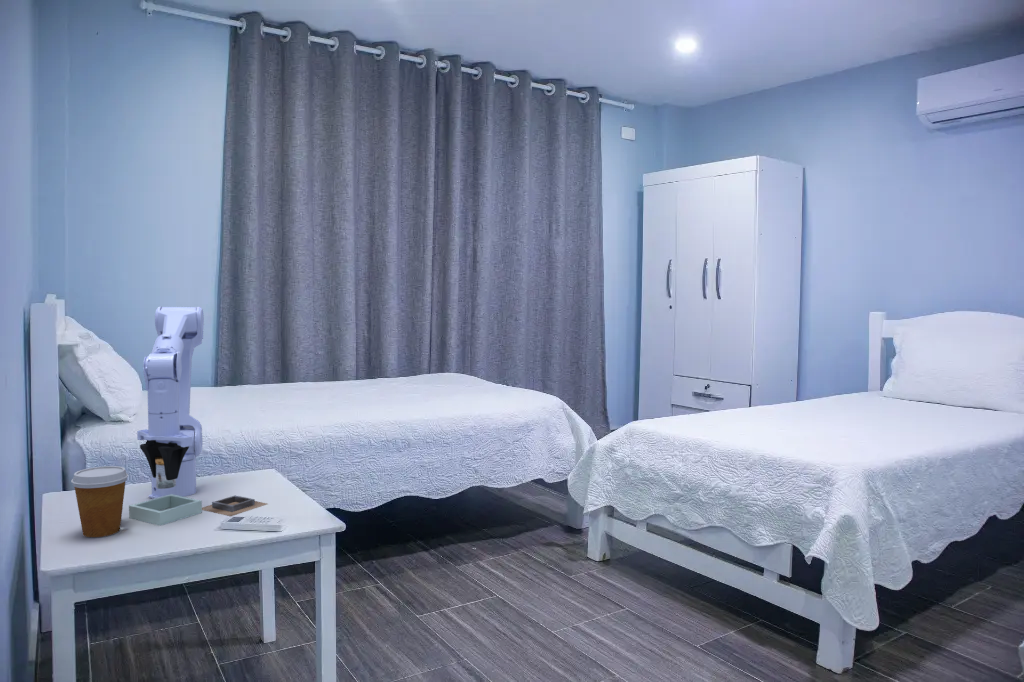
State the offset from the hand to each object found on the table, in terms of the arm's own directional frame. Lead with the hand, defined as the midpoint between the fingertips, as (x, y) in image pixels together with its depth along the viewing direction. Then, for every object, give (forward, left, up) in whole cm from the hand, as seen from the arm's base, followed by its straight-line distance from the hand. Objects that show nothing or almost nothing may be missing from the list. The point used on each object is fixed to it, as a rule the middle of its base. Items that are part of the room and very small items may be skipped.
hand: (165, 477), depth 145 cm
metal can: (0, 0, -2) cm, 2 cm away
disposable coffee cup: (-4, -11, -9) cm, 15 cm away
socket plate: (+7, +11, -9) cm, 16 cm away
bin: (0, 0, -9) cm, 9 cm away
